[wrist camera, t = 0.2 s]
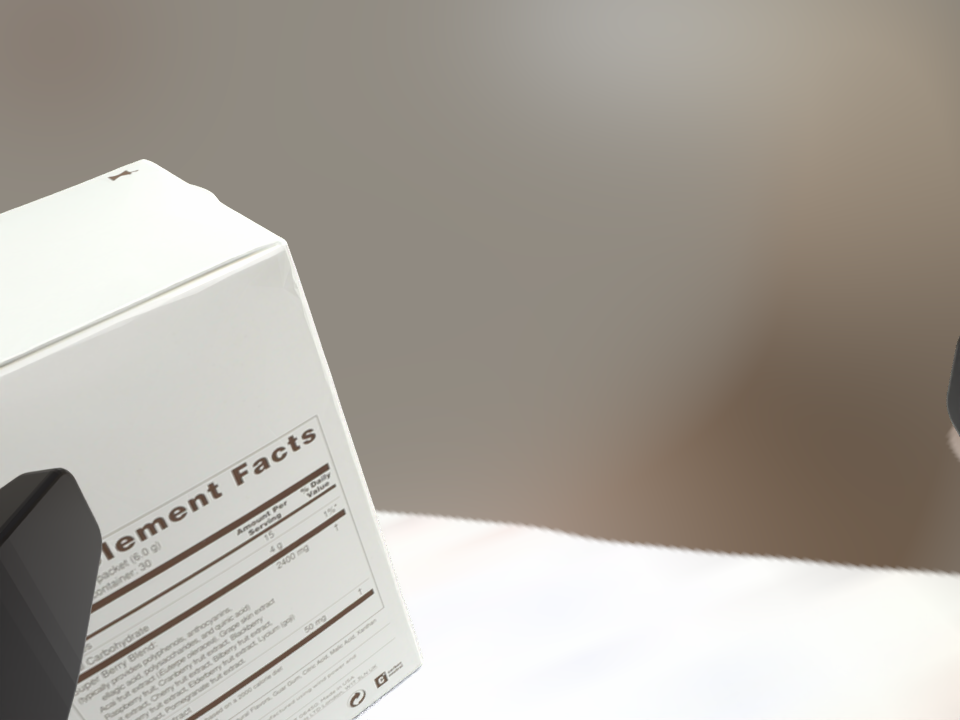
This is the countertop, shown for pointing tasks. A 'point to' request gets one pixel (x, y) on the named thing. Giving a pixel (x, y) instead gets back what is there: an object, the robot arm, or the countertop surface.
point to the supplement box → (195, 457)
